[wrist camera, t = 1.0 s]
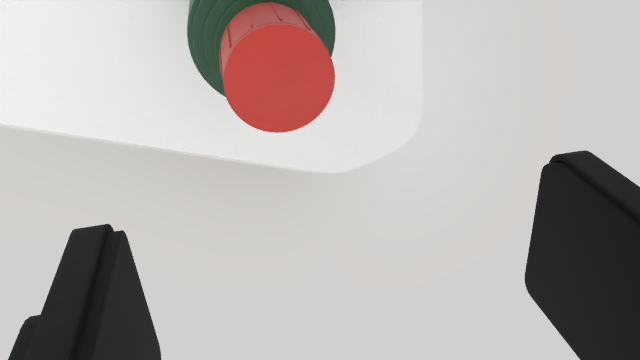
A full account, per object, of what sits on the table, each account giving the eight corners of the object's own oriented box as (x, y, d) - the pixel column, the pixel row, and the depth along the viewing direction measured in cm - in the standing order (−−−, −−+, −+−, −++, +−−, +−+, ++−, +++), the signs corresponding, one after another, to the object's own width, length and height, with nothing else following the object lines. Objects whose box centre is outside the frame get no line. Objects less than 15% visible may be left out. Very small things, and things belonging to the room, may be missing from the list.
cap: (306, -8, 21) (325, 13, 17) (322, 85, 23) (342, 119, 19) (208, 13, 20) (209, 38, 17) (233, 105, 22) (238, 143, 19)
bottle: (286, -76, 34) (366, -30, 17) (295, 26, 37) (370, 147, 21) (184, -67, 33) (165, -10, 17) (202, 37, 36) (201, 172, 20)
